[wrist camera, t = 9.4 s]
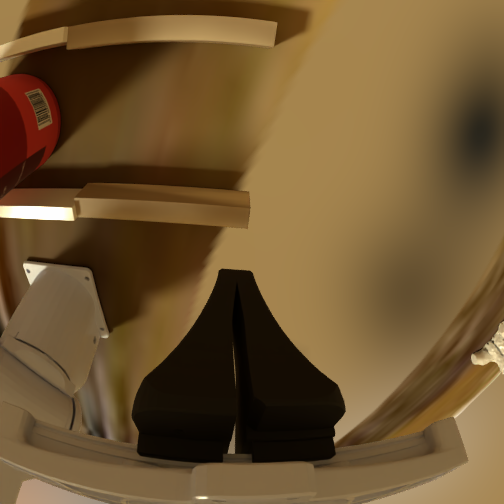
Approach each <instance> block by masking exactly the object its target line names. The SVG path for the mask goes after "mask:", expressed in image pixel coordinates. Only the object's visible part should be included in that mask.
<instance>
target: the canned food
mask: <svg viewBox="0 0 504 504" xmlns="http://www.w3.org/2000/svg"><path fill="white" fill-rule="evenodd" d="M60 128H61V115H60V109H59V105H58V102H57V99H56V97H55V95H54V93H53V91H52V90H51V89H50V87H49V86H48V85H47V84H46V83H45V82H44V81H42V80H41V79H39V78H37V77H35V76H32V75H28V74H14V75H10V76H6V77H2V78H0V199H2V198H3V197H4V196H5V195H6V194H7V193H8V192H9V191H11V190H12V189H13V188H14V187H15V186H16V185H18V184H19V183H20V182H21V181H22V180H24V179H25V178H26V177H27V176H29V175H30V174H31V173H32V172H34V171H35V170H36V169H37V168H39V167H40V166H41V165H43V164H44V163H45V162H46V160H47V159H48V158H49V157H50V155H51V153H52V152H53V150H54V148H55V146H56V144H57V141H58V138H59V135H60Z"/></svg>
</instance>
